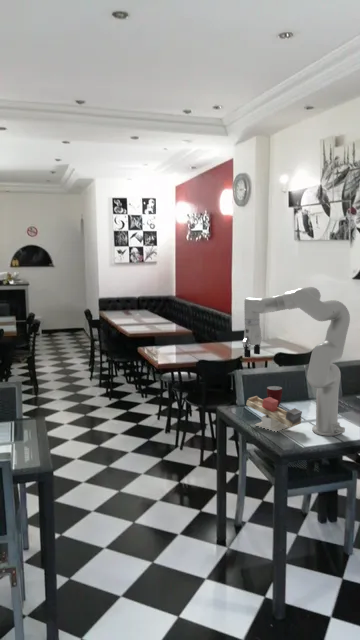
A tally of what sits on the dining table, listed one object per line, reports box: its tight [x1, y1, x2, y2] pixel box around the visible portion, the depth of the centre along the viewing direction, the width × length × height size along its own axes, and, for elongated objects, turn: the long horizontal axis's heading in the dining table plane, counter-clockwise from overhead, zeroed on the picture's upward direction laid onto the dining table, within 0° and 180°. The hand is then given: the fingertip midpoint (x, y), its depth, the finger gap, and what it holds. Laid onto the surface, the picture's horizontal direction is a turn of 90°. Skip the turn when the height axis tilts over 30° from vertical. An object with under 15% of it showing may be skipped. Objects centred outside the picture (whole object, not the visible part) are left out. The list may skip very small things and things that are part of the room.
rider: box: [262, 397, 278, 412], centre depth 242 cm, size 5×5×5 cm
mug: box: [266, 385, 283, 407], centre depth 273 cm, size 10×8×10 cm
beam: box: [245, 395, 303, 429], centre depth 241 cm, size 26×9×7 cm, turn 44°
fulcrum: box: [254, 414, 289, 433], centre depth 242 cm, size 12×11×5 cm
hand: (252, 355), depth 260 cm, fingers open, 9 cm apart
